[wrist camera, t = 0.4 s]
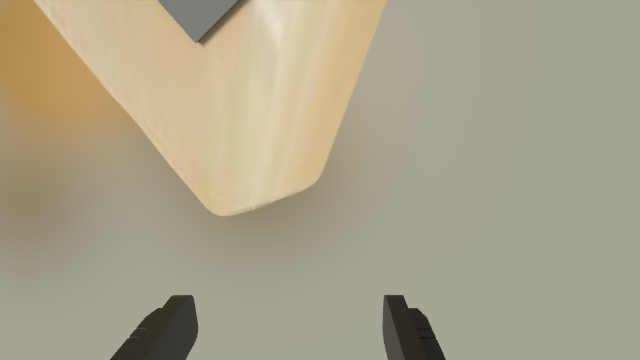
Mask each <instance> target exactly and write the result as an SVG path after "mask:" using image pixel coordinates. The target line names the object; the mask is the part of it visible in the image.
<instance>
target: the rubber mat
mask: <svg viewBox="0 0 640 360" xmlns="http://www.w3.org/2000/svg"><path fill="white" fill-rule="evenodd" d="M158 1H159V2H160V3H161V5H162V6H163V7H164V8H165V9H166V10H167V11H168V12H169V14H170V15H171V16H172V17H173V18H174V19H175V20H176V22H177V23H178V24H179V25H180V26H181V27H182V28H183V29H184V31H185V32H186V33H187V34H188V35H189V36H190V37H191V39H192V40H193V41H194V42H195V43H197V42H198V41H199V40H200V39H201V38H202V37H203V36H204V35H205V34H206V33H207V32H208V31H209V30H210V29H211V28H212V27H213V26H214V25H215V24H216V23H217V22H218V21H219V20H220V19H221V18H222V17H223V16H224V15H225V14H226V13H227V12H228V11H229V10H230V9H231V8H232V7H233V6H234V5H235V4H236V3H237V2H238V1H239V0H158Z"/></svg>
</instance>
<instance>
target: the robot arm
mask: <svg viewBox="0 0 640 360" xmlns="http://www.w3.org/2000/svg"><path fill="white" fill-rule="evenodd" d="M197 334H198V322H197V316H196V309H195V303H194V298H193V296H192V295H173V296H172V297H170V299H169V300H168V301H167V303H166V304H165V305H164V306H163V307H162V308H158V309H156V310H155V311H153V312H152V313H151V314H149V315H148V316H146V317H145V318H144V320H143V321H142V322H141V323H140V324H139V326H138V327H137V329H136V330H134V332H133V333H132V334H131V335H130V337H129V338H128V339H127V340H126V341H125V343H124V344H123V345H122V346H121V347H120V348H119V349H118V351H117V352H116V353H115V354H114V356H113V357H112V358H111V359H110V360H186V358H187V356H188V354H189V352H190V350H191V349H192V347H193V345H194V343H195V341H196V338H197ZM383 338H384V344H385V348H386V353H387V357H388V360H446V359H445V357H444V355H443V352H442V350H441V348H440V346H439V343H438V341H437V340H436V337H435V335H434V333H433V331H432V328H431V326H430V324H429V321H428V319H427V317H426V316H425V315H424V314H422V312H421V311H419V309H417V308H408V306H407V304H406V301H405V299H404V296H403V295H385V296H384V305H383Z"/></svg>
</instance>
